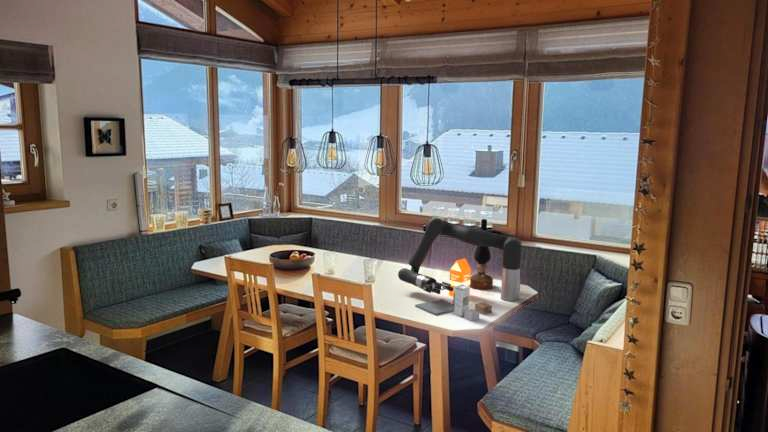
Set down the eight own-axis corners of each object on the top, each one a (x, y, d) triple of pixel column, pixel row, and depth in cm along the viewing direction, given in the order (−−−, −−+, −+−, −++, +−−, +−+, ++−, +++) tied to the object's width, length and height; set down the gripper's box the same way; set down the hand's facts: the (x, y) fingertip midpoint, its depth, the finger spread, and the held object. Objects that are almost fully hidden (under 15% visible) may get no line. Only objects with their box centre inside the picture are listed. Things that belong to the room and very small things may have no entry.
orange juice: (448, 295, 324) (450, 259, 320) (458, 291, 330) (459, 256, 327) (460, 298, 319) (462, 262, 315) (469, 295, 325) (471, 259, 322)
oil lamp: (467, 288, 349) (457, 221, 347) (493, 284, 349) (482, 217, 347) (471, 293, 335) (460, 223, 333) (498, 288, 335) (487, 218, 333)
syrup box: (458, 311, 297) (459, 283, 295) (468, 314, 294) (470, 285, 291) (452, 314, 293) (453, 285, 290) (462, 317, 289) (463, 288, 287)
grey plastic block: (471, 316, 290) (472, 308, 290) (479, 319, 286) (479, 311, 286) (464, 318, 287) (464, 310, 287) (471, 321, 283) (471, 313, 283)
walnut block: (483, 309, 302) (484, 302, 301) (491, 313, 297) (492, 305, 296) (474, 311, 298) (475, 303, 298) (482, 314, 293) (483, 307, 293)
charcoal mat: (441, 300, 313) (442, 299, 313) (462, 309, 301) (462, 307, 300) (415, 306, 303) (415, 304, 303) (435, 315, 290) (435, 313, 290)
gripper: (415, 278, 309) (435, 285, 296) (436, 274, 317) (457, 281, 304) (415, 291, 310) (435, 300, 297) (436, 287, 318) (456, 295, 305)
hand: (446, 290), depth 301 cm, fingers open, 8 cm apart
